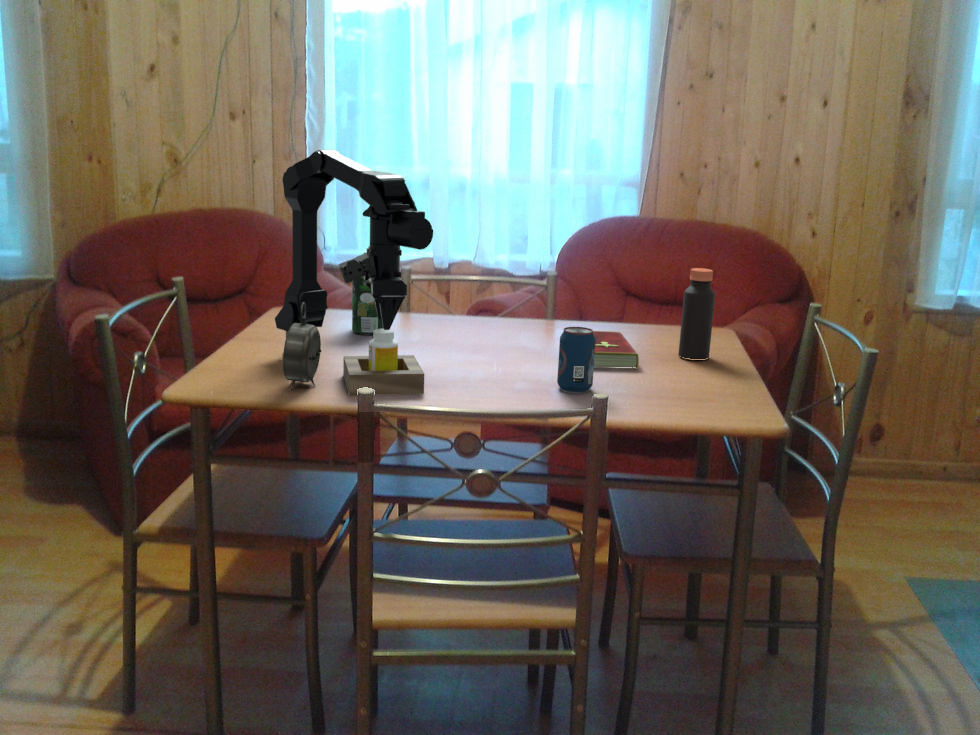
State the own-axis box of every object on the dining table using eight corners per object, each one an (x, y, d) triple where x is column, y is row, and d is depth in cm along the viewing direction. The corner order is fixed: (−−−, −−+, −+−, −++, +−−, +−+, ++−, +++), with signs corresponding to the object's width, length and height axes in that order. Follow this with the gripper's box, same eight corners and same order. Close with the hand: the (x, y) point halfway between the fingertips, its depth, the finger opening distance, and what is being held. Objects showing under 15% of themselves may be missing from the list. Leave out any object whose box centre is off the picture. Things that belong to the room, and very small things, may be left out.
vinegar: (672, 355, 229) (680, 267, 224) (695, 353, 232) (704, 266, 227) (690, 362, 223) (699, 272, 218) (715, 360, 226) (724, 271, 221)
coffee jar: (356, 326, 245) (356, 249, 240) (388, 327, 244) (389, 251, 240) (348, 335, 235) (348, 255, 231) (382, 336, 235) (383, 257, 230)
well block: (343, 375, 201) (343, 356, 200) (413, 374, 204) (413, 355, 203) (349, 395, 188) (349, 374, 187) (423, 393, 191) (424, 373, 190)
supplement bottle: (403, 382, 196) (404, 331, 194) (381, 387, 192) (382, 335, 190) (384, 376, 200) (384, 326, 197) (362, 381, 196) (363, 330, 193)
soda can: (554, 384, 202) (558, 325, 199) (589, 385, 202) (593, 326, 199) (559, 394, 195) (563, 333, 192) (594, 394, 195) (599, 334, 192)
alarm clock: (298, 377, 199) (297, 296, 194) (325, 379, 198) (325, 297, 194) (281, 392, 188) (280, 307, 184) (309, 394, 188) (309, 308, 183)
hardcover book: (620, 348, 236) (621, 330, 235) (637, 371, 216) (639, 352, 215) (569, 346, 235) (570, 328, 234) (582, 370, 215) (583, 350, 214)
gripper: (337, 235, 196) (337, 314, 200) (345, 249, 179) (345, 336, 183) (395, 236, 199) (393, 314, 203) (408, 250, 181) (406, 335, 185)
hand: (383, 324), depth 193 cm, fingers open, 9 cm apart
